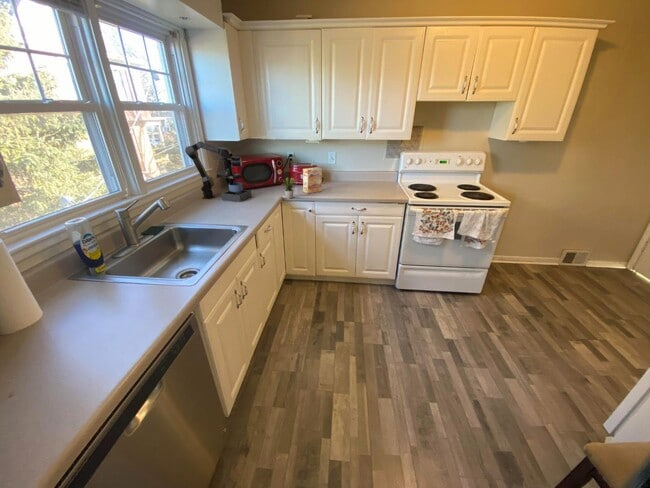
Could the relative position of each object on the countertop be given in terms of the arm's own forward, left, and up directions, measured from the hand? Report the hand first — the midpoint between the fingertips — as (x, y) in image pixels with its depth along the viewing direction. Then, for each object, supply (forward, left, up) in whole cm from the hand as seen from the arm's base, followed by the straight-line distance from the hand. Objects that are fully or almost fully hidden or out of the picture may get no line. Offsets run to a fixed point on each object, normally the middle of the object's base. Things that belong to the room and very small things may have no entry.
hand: (230, 186), depth 215 cm
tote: (+5, 0, -9) cm, 10 cm away
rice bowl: (+5, 0, -2) cm, 5 cm away
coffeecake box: (+53, +40, -9) cm, 67 cm away
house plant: (+43, +14, -9) cm, 46 cm away
